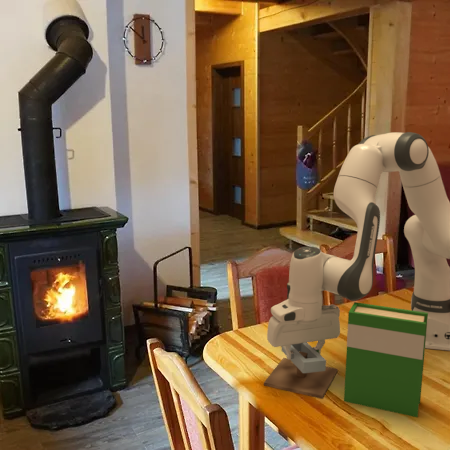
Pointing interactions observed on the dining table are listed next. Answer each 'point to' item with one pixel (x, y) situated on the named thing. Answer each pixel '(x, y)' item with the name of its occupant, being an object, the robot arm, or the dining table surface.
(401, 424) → the dining table surface
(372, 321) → the hardback book
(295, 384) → the post fixture
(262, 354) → the dining table surface
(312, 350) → the grey rectangular frame
